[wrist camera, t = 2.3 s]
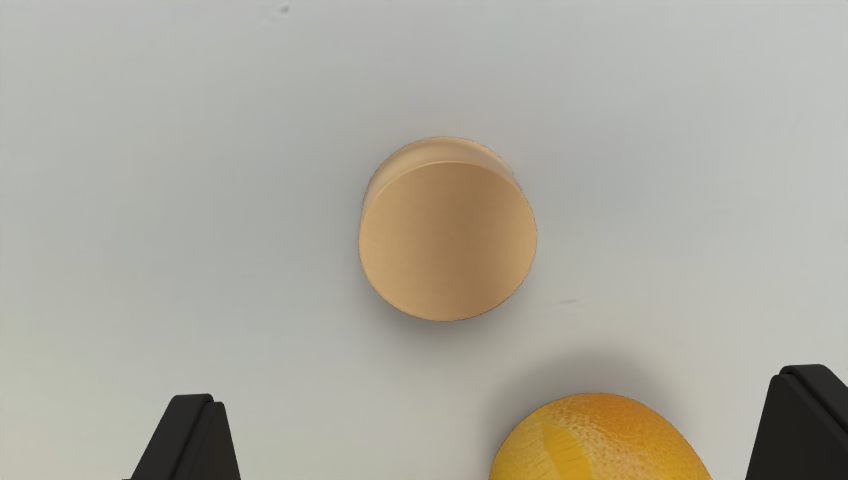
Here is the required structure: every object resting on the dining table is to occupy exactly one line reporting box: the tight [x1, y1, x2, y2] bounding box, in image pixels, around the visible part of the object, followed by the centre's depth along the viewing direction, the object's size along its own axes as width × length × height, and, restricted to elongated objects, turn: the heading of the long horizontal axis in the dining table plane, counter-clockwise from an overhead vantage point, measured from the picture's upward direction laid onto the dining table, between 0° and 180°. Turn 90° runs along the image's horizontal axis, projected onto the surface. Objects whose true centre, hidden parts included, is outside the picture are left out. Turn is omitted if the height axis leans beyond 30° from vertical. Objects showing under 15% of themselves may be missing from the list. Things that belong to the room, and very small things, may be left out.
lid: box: [359, 137, 537, 321], centre depth 20 cm, size 6×6×2 cm
